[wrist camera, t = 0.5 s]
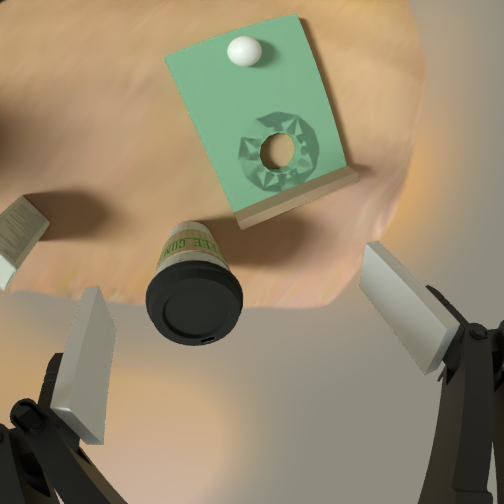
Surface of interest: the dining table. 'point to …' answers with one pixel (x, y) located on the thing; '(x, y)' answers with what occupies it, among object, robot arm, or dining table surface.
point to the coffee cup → (193, 288)
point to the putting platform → (262, 118)
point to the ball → (244, 51)
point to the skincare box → (18, 236)
